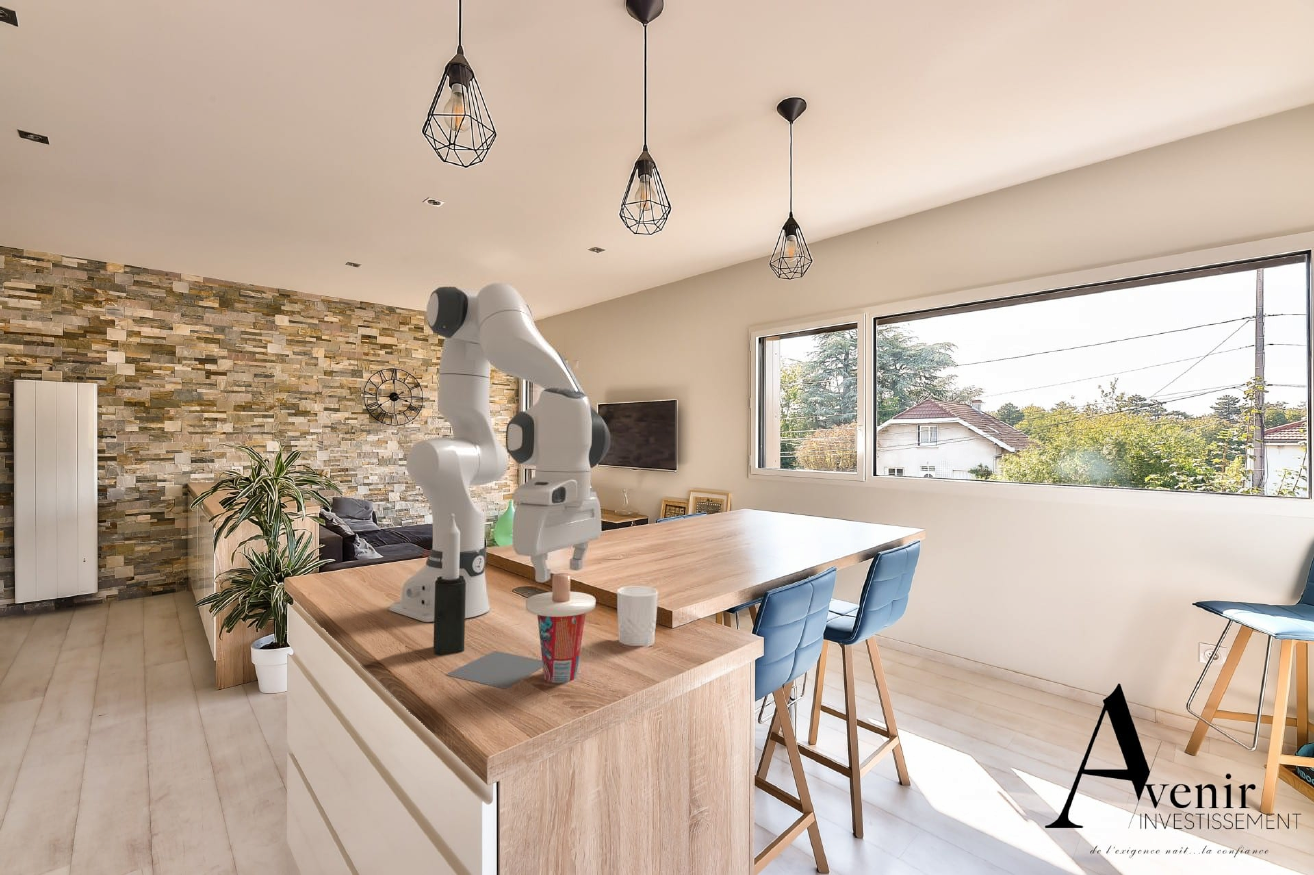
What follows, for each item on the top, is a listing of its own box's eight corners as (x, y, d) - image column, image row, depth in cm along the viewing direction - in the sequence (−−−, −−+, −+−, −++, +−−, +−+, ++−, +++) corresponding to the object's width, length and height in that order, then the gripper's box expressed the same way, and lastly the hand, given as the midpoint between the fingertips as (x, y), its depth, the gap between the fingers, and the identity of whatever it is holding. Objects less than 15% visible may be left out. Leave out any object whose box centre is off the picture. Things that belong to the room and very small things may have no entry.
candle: (433, 649, 104) (436, 512, 104) (462, 645, 106) (465, 511, 106) (434, 658, 99) (437, 515, 100) (464, 655, 101) (468, 514, 102)
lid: (511, 610, 88) (511, 578, 88) (551, 594, 98) (552, 565, 98) (571, 620, 84) (572, 586, 84) (607, 602, 94) (608, 572, 94)
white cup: (652, 651, 105) (653, 597, 105) (611, 648, 106) (612, 594, 107) (660, 637, 112) (661, 587, 113) (622, 634, 114) (623, 584, 114)
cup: (562, 665, 97) (564, 595, 98) (597, 678, 92) (598, 604, 92) (517, 682, 90) (519, 606, 90) (552, 697, 85) (554, 617, 85)
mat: (445, 678, 91) (445, 674, 91) (495, 654, 102) (495, 650, 102) (505, 692, 86) (505, 688, 86) (550, 665, 97) (550, 662, 97)
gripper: (580, 484, 102) (578, 561, 102) (506, 491, 83) (503, 586, 83) (611, 486, 99) (609, 565, 99) (541, 494, 81) (538, 591, 81)
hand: (560, 575), depth 91 cm, fingers open, 8 cm apart
